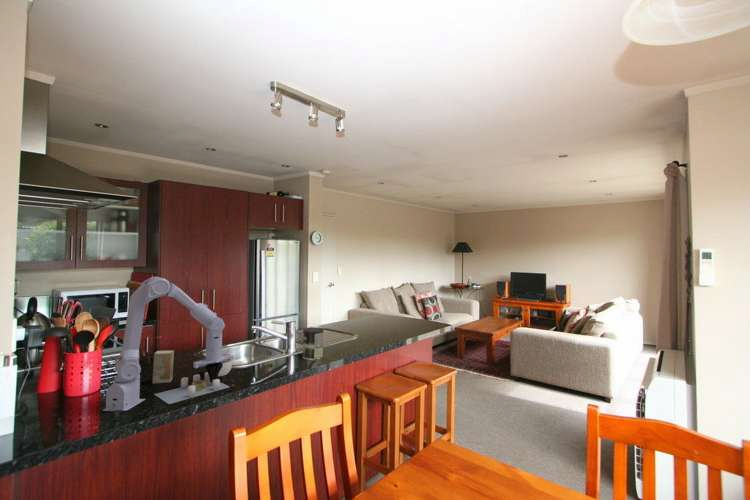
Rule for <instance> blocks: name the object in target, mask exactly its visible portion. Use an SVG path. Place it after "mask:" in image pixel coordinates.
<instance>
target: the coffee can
mask: <svg viewBox="0 0 750 500" xmlns="http://www.w3.org/2000/svg"><path fill="white" fill-rule="evenodd" d="M302 331H303V333H302V359H304V360H306V361H317V360H316V359H318V360H321V359H323V358H322V357H324V354H323V352H324V351H323V350H324V349H323V348H324V329H323V328H321V327H305V328H304V329H303V330H302ZM320 358H321V359H320Z"/></svg>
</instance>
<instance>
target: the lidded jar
mask: <svg viewBox="0 0 750 500" xmlns="http://www.w3.org/2000/svg"><path fill="white" fill-rule="evenodd" d="M224 355H231V354H228V353H222V356H224ZM233 359H234V356H233V355H232V360H231V361H224V362H221V363H222V364H223V366H222V368H221V370H220V372H219V374H218V377H224V376H226V375H228V374H229V373H230V371H231V370H232V367H233ZM218 377H217V378H218Z"/></svg>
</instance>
